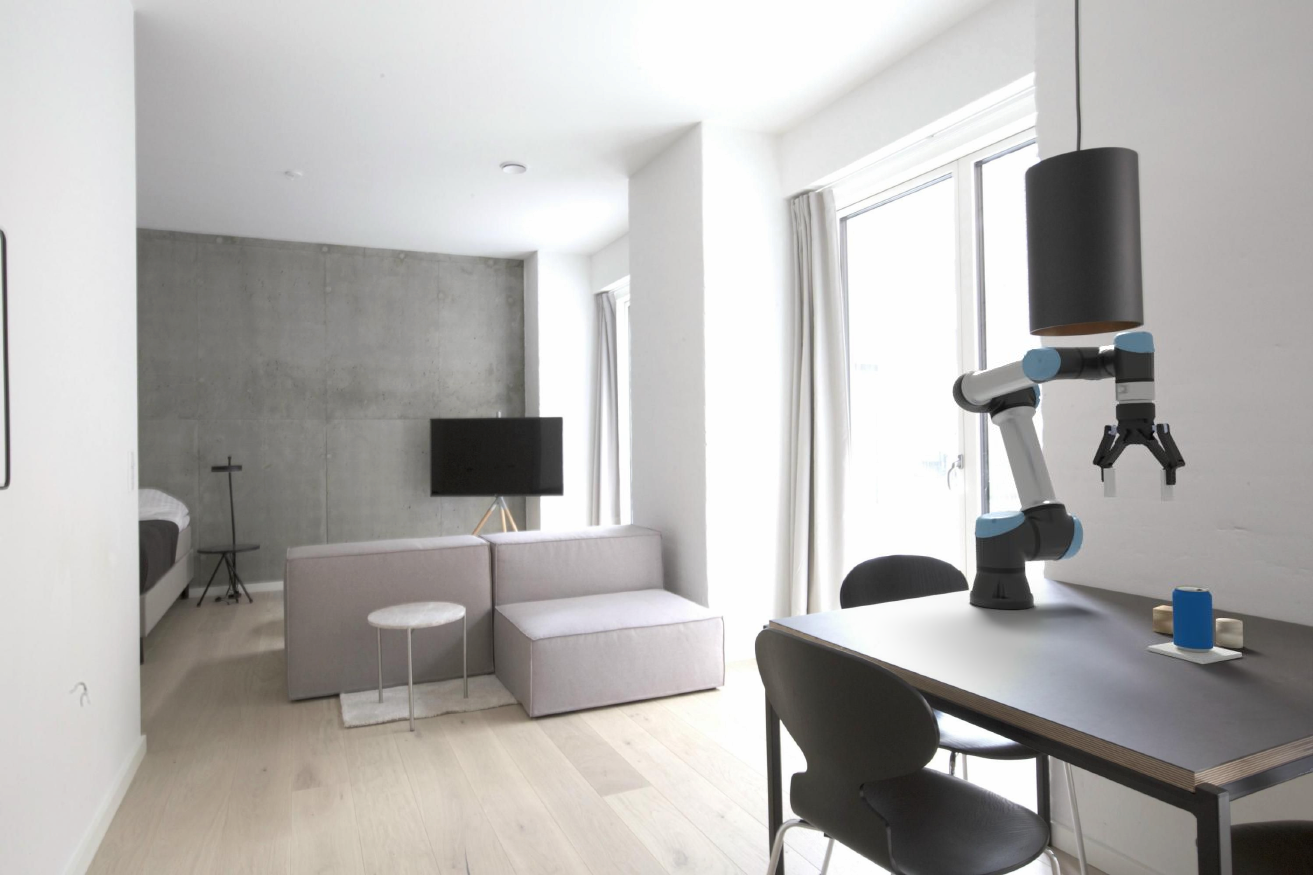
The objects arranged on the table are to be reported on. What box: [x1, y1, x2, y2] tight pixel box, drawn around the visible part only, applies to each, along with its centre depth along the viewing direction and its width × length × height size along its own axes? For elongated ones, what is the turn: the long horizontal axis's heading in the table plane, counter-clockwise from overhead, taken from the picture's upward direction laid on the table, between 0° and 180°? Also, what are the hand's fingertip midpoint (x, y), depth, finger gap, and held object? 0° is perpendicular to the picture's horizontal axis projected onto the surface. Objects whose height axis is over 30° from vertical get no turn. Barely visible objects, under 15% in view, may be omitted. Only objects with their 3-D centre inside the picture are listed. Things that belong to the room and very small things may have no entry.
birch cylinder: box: [1215, 617, 1244, 649], centre depth 162 cm, size 4×4×5 cm
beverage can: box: [1171, 584, 1214, 653], centre depth 157 cm, size 6×6×12 cm
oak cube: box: [1152, 604, 1173, 635], centre depth 175 cm, size 5×5×5 cm
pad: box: [1147, 641, 1243, 665], centre depth 157 cm, size 11×11×1 cm
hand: (1137, 498), depth 177 cm, fingers open, 13 cm apart
